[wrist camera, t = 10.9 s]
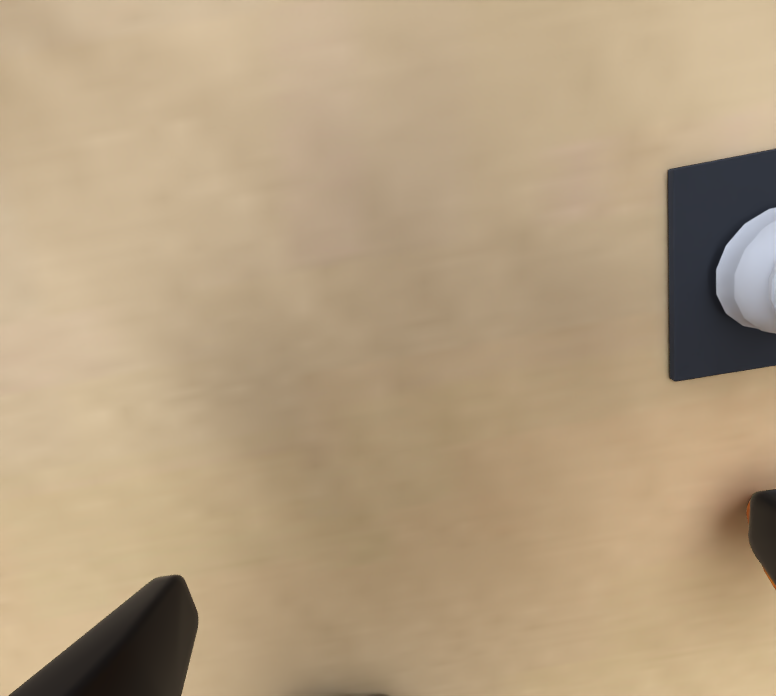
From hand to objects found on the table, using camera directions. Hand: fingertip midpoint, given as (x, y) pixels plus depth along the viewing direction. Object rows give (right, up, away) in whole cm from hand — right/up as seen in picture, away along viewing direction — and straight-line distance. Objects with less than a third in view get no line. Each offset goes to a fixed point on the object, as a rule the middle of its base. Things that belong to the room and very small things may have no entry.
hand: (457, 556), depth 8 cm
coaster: (+13, +6, +10) cm, 18 cm away
